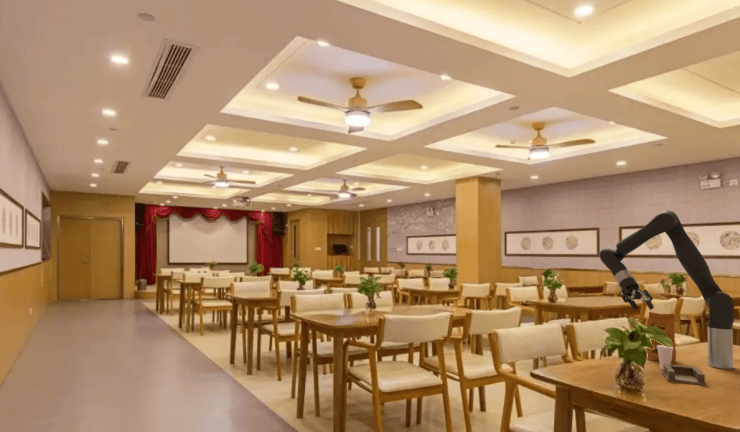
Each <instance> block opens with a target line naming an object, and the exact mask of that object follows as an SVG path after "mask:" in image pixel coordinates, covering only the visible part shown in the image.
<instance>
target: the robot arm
mask: <svg viewBox="0 0 740 432" xmlns="http://www.w3.org/2000/svg"><path fill="white" fill-rule="evenodd" d="M664 233H665V234H666V235H667V236H668V237H667V238H669V239H670V242H671V243H672V246H673V249H674V253H675V254H676V257H677V259H678V261H679V263H680V265H681V266H682V268H683V270H684V271H685V272H686V273H687V274H688V276H689V277H690V279H691V280H692V281H693V282H694V284H695V285H696V286H697V288H698V290H699V292H700V295H701V296H702V297H703V300H704V302H705V304H706V305H707V308H708V309H709V311H708V320H707V365H708V366H710V367H712V368H717V369H725V370H726V369H728V370H729V369H734V348H733V347H734V344H733V343H734V342H733V341H734V339H733V338H734V337H733V331H734V329H733V325H734V321H735V304H734V303H735V302H734V300H733V298H732V297H731V295H730V294H728V293H725V292H724V291H723V290H722V289H721V287H720V286H719V285H718V284H717V282H716V281H715V280H714V277H713V275H712V272H711V270H710V268H709V267H710V266H709V265H708V263H707V261H706V260H705V258H704V256H703V255H702V253H701V252H700V250H699V249H698V248H697V246H696V245H695V242H694V241H693V240H692V238H690V237H689V235H688V234H687V232H686V230H685V228H684V227H683V225H682V223H681V221H680V218H679V216H678V215H677V214H676V213H675V211H672V210H667V209H666V210H665V209H664V210H662V211H660V212H658V213H657V214H656V215H655V216H654V217H653V218H652V219H651V220H650V221H649V222H648V223H647V224H646V225H644V226H643V227H641V228H640V229H638V230H636V231H634V232H633V233H631V234H629V235H628V236H626V237H625V238H623V239H621V240H620V241H619V242H617V243H616V245H615V246H616V249H615V250H614V249H611V248H606V247H604V248H602V249H601V250H600V251H599V258H600V261H601V262H602V263H603V265H605V267H606V268H607V269H609V271H610V272H611V274H612V275H613V277H614V279H615V280H616V283H617V284H618V287H619V288H620V289H621V290H620V291H619V295H620V297H621V299H622V300H623V301H624V303H626V304H627V303H628V305H630V306H631V307H632V309H633V310H634V311H636V310H638V308H639V306H638V305H637V303H636V302H635V300H639V301H641V302H644V303H645V304H646V306H647V308H648V309H649V310H650V311H651V310H653V309H655V306H654V304H653V303H652V301H653V300H654V298H653V297H652V295H651V294H650V292H649V291H648V290H647V289H645V288H644V290H641V289H640V285H639V283H638V282H637V280H636V278H635V277H634V276H633V275H632V273H631V272H630V271H629V269H628V268H627V267H626V265H625V264H624V262H622V261H623V260H624V259H625V258H626V257H627V255H628V254H630V253H631V252H634V251H635V250H636V249H639V248H640V247H641V246H642V245H644V244H645V243H646V242H647V241H648V242H649V240H651V239H652V238H655V237H656V236H659V235H662V234H664Z"/></svg>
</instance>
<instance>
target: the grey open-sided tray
mask: <svg viewBox="0 0 740 432" xmlns="http://www.w3.org/2000/svg"><path fill="white" fill-rule="evenodd" d="M661 374H662V376H664V379H666V380H665V381H666V382H668V383H669V382H670V383H679V384H685V385H686V384H688V385H698V386H707V382H706V381H705V380H706V379H705V374H704V373H703V372H702V371H701V369H699V368H698V367H696V366H695V367H694V366H687V365H686V366H685V365H675V364H671V365H666V364H664V370H663V371H661Z"/></svg>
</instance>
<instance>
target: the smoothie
mask: <svg viewBox="0 0 740 432" xmlns="http://www.w3.org/2000/svg"><path fill="white" fill-rule="evenodd" d="M657 349H658V355H659V361H658V362H659V368H660V370H663V371H664V364H666V365H672V362H671V359H672V351H673V350H674V349H673V347H667V346H664V345H657Z"/></svg>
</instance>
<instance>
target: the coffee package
mask: <svg viewBox="0 0 740 432" xmlns="http://www.w3.org/2000/svg"><path fill="white" fill-rule="evenodd" d="M675 316H676V315H675V313H657V312H654V311H653V312H652V311H649V312H648V322H647V323H648V324H647V327H648V326H656V327H658V328H660V329H662V330H663V331H665V332H666V334H667V335H668V337H669V338H670V339H671V340H672V342H673V346H672V347H673V349H674V350H673V351H672V359H671V363H676V360H677V351H676V345H675V338H676V334H675V333H676V332H675V331H676V330H675V319H676V317H675ZM651 342H652V344H653V346H654V348H655V349H654V350H652V349H649V348H646V347H645V351H646V350H647V353H648V359H647V360H648V361H658V362H659V355H658V349H657V345H662V344H660V343H658V342H656V341H654V340H651Z"/></svg>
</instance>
